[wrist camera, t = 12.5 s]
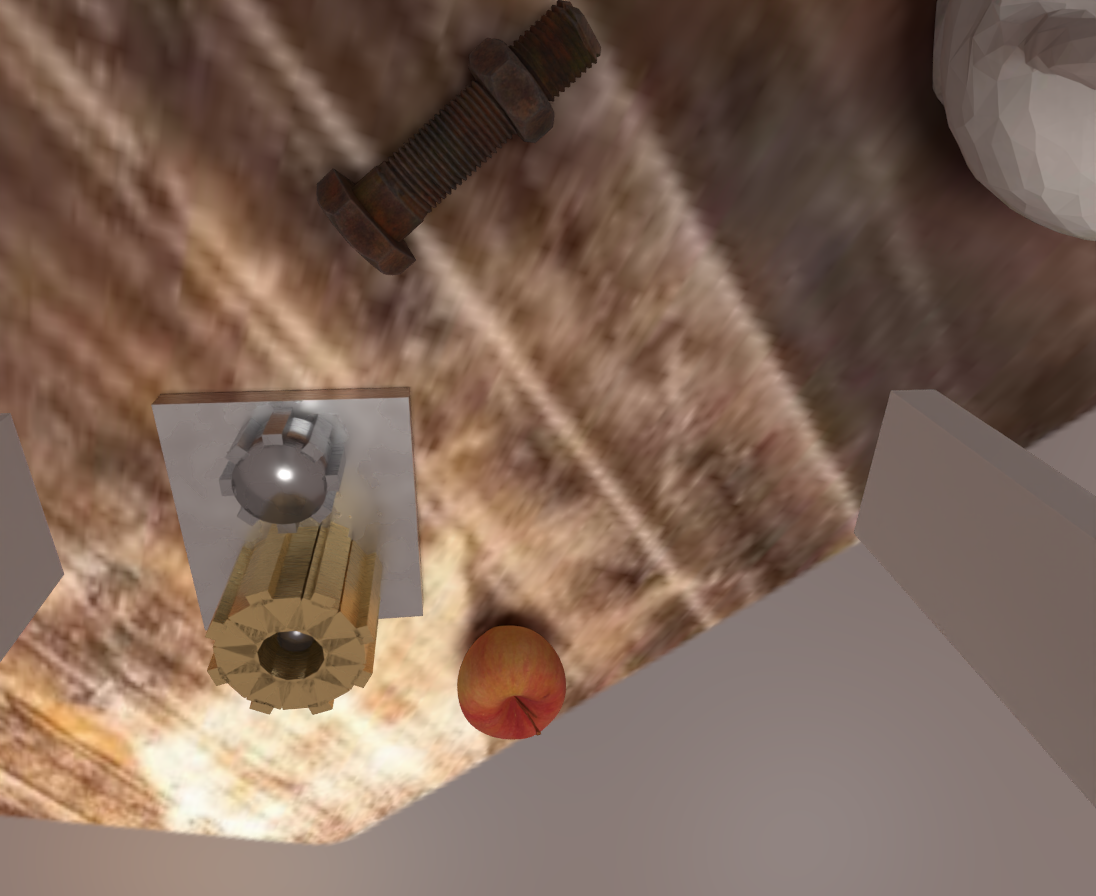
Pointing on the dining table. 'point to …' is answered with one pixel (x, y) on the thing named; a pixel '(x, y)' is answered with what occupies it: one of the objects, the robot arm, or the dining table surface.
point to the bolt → (461, 136)
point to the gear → (297, 619)
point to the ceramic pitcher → (1024, 103)
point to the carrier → (294, 481)
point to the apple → (511, 683)
